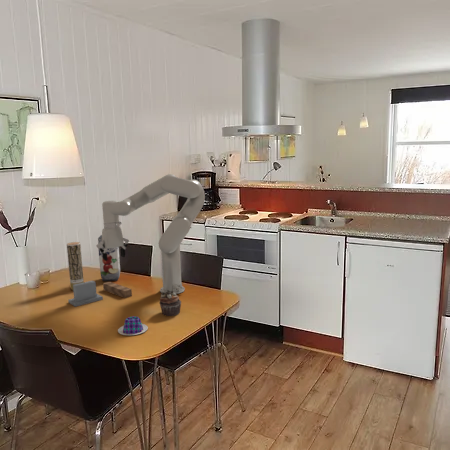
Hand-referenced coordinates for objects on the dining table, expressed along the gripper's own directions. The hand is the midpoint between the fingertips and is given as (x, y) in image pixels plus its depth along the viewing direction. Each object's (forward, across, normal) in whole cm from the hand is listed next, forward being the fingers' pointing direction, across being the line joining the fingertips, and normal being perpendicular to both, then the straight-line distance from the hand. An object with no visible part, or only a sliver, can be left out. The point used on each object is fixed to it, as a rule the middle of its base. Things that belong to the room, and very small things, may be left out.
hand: (114, 258), depth 221 cm
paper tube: (+18, +12, -22) cm, 31 cm away
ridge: (+18, +17, 0) cm, 25 cm away
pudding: (+19, +18, +48) cm, 55 cm away
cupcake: (+19, -4, +43) cm, 47 cm away
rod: (+19, 0, 0) cm, 19 cm away
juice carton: (+18, -9, -25) cm, 32 cm away
